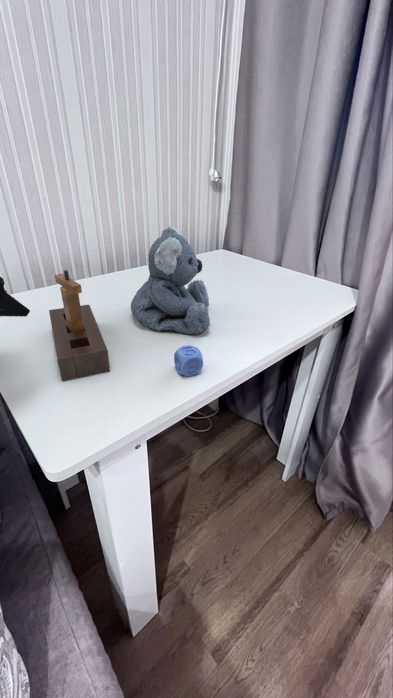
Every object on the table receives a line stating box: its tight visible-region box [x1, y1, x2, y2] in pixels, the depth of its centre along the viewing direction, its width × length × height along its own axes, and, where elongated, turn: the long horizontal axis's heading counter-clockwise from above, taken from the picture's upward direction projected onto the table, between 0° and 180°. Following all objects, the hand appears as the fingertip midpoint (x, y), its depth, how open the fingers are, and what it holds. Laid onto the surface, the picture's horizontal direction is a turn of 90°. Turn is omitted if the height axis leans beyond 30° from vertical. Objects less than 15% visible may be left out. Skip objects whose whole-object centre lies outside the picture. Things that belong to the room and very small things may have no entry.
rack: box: [48, 304, 111, 382], centre depth 63 cm, size 8×19×4 cm, turn 24°
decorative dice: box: [173, 344, 204, 377], centre depth 58 cm, size 4×4×4 cm
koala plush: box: [130, 226, 211, 335], centre depth 71 cm, size 17×18×20 cm
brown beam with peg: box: [54, 269, 84, 333], centre depth 60 cm, size 2×7×16 cm, turn 44°
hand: (16, 303), depth 52 cm, fingers open, 9 cm apart
